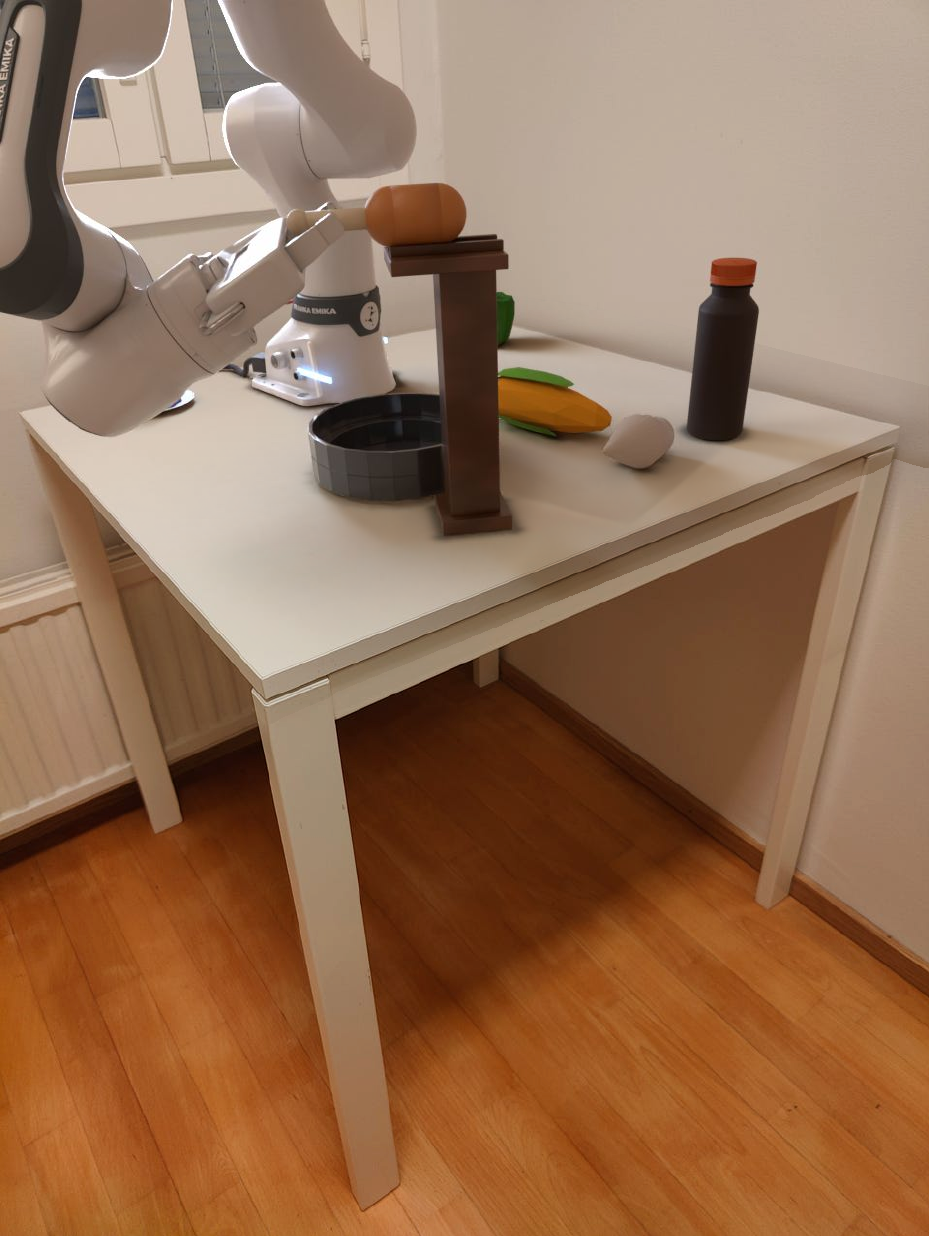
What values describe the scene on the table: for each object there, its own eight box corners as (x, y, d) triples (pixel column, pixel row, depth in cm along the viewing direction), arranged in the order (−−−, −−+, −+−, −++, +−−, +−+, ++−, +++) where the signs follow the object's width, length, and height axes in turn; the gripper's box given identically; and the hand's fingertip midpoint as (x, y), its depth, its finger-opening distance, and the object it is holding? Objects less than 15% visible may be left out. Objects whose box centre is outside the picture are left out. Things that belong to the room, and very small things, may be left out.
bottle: (753, 433, 107) (779, 261, 96) (713, 445, 104) (734, 269, 93) (714, 418, 112) (733, 253, 101) (674, 430, 109) (690, 261, 98)
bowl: (278, 480, 100) (270, 430, 97) (391, 428, 113) (387, 383, 110) (412, 520, 90) (408, 466, 86) (518, 458, 103) (518, 409, 100)
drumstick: (289, 258, 72) (281, 195, 69) (290, 249, 76) (282, 188, 73) (471, 246, 73) (469, 184, 71) (463, 238, 77) (461, 178, 75)
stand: (412, 542, 85) (389, 251, 71) (404, 508, 92) (382, 237, 78) (513, 531, 86) (510, 243, 72) (498, 499, 93) (493, 230, 79)
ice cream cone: (592, 491, 94) (654, 468, 105) (636, 465, 89) (696, 444, 100) (566, 441, 94) (631, 423, 105) (609, 413, 90) (672, 397, 101)
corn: (507, 350, 114) (632, 377, 102) (510, 405, 119) (631, 438, 107) (468, 367, 110) (594, 397, 98) (473, 424, 115) (594, 459, 103)
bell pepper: (483, 335, 152) (481, 275, 147) (522, 340, 148) (522, 279, 143) (455, 346, 147) (452, 284, 141) (495, 352, 142) (494, 289, 137)
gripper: (168, 304, 65) (316, 193, 62) (197, 258, 82) (315, 169, 80) (224, 373, 68) (367, 270, 66) (241, 315, 85) (355, 231, 83)
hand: (338, 214), depth 73 cm, fingers open, 6 cm apart
